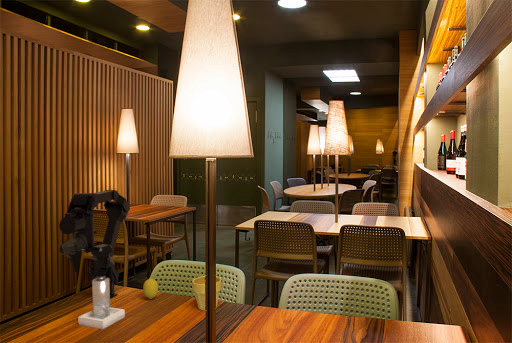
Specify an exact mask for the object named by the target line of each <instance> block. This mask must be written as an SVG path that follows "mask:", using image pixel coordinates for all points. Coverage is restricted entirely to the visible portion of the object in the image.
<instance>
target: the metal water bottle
mask: <svg viewBox="0 0 512 343" xmlns="http://www.w3.org/2000/svg"><path fill="white" fill-rule="evenodd" d="M91 284H92V287H91V288H92V289H91V290H92V310H93V318H97V319H105V318H106V317H108V316H110V307H111V299H110V286H109V278H106V277H105V276H103V275H102V276H97V277H96V279H94V280H92V282H91Z"/></svg>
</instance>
